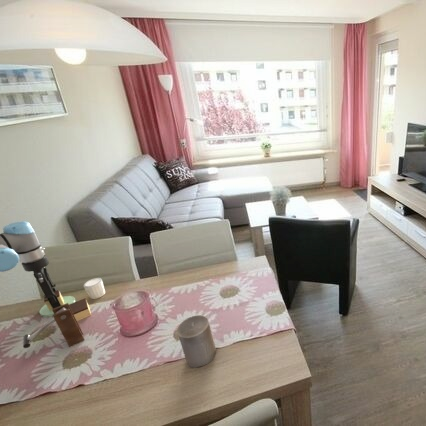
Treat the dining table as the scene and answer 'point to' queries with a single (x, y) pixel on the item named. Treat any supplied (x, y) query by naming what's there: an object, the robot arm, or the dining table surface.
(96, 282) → the white ribbed ramekin
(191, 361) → the pillar candle
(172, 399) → the dining table surface
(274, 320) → the dining table surface
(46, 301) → the cake slice
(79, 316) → the cake
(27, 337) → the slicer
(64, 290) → the dining table surface
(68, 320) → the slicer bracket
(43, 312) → the plate
